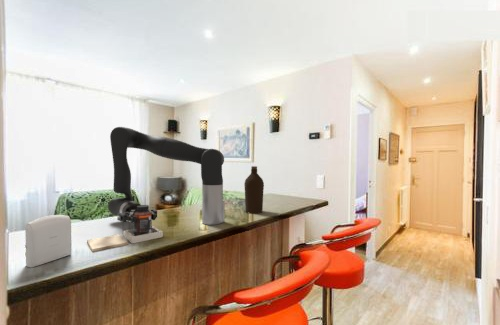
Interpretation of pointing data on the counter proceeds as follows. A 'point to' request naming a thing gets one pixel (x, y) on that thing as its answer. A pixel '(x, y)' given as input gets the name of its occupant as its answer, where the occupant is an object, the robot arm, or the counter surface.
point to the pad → (106, 242)
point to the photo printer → (47, 239)
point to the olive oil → (254, 192)
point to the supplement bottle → (143, 220)
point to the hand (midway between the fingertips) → (145, 218)
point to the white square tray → (133, 239)
